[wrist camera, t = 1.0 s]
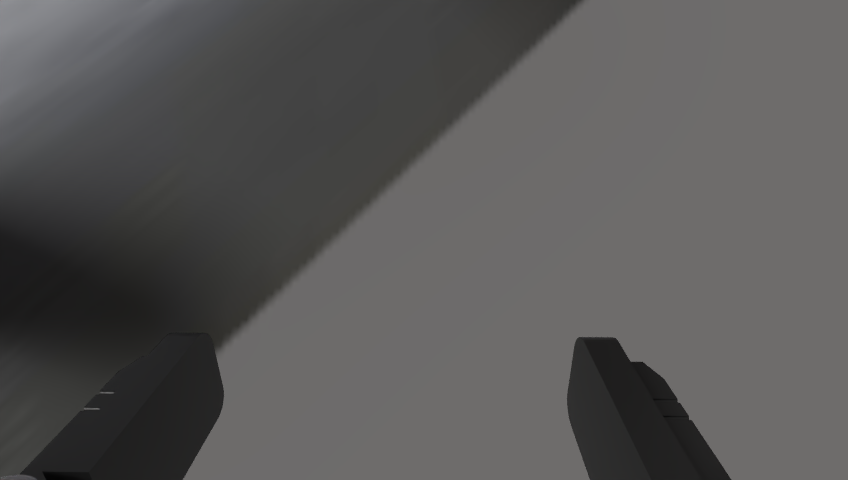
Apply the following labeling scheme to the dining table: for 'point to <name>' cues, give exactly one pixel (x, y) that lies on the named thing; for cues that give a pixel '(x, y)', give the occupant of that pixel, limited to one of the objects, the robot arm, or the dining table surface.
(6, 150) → the dining table surface
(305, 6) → the dining table surface
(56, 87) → the dining table surface
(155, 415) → the robot arm
